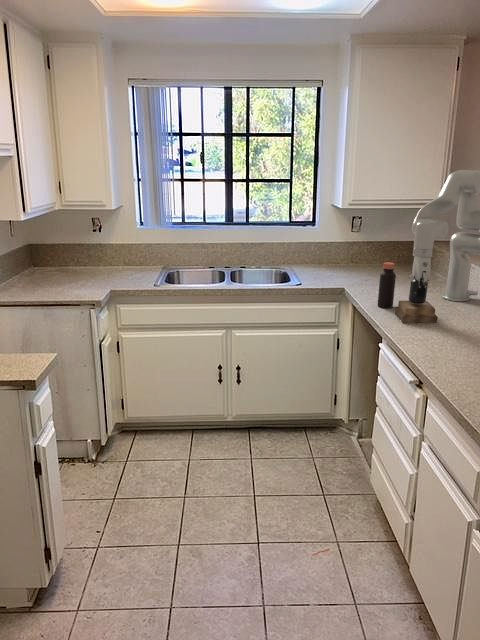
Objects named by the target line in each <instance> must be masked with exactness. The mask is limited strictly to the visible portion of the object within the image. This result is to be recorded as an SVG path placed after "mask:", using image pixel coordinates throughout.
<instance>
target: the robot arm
mask: <svg viewBox="0 0 480 640" xmlns="http://www.w3.org/2000/svg"><path fill="white" fill-rule="evenodd" d="M479 193H480V170H477V169H476V170H475V169H458V170H455V171H453V172H451V173H450V174H448V176H447V178H446V180H445V181H444V184H443V186H442V188H441V190H440V191H439V194H438V196H437V197H436V198H434V199H432V200H430V201H429V202H427V203H426V204H425V205H423V206H422V207H421V208H420V209H419V210H418V211H417V214H416V215H415V217H414V220H413V223H412V224H411V232H412V233H413V235H414V239H413V249H412V256H413V263H412V272H411V275H412V280H413V279H414V276H415V278H416V280H417V281H418V287H417V297H425V290H426V283H427V282H429V281H430V280H431V271H432V270H431V267H432V265H431V264H432V263H431V262H432V259H431V258H432V257H433V250H434V242H435V239H440V240H441V239H443V238H445V237H446V236H447V235H448V234H449V231H450V226H449V224H448V222H447V221H446V220H441V219H435V218H431V217H433V216H435V215H438V214H441V213H445V212H448V211H451V210H453V209H454V210H455V208H456V207H457V211H456V222H455V225H456V227H457V228H458V229H461V230H467V231H474V232H475V231H478V232H479V233H474V232H467V231H466V232H465V231H459V232H455V233H453V234H452V235H451V237H450V240H449V248H450V249H449V250H450V253H449V255H450V256H449V257H450V258H449V264H448V272H447V279H446V286H445V287H446V288H445V292H444V293H441V298H442V299H444V300H448V301H451V302H467V301H469V300H471V296H478V291H477V290H475V291H474V290H470V289H469V282H470V275H471V270H472V269H471V268H472V260H471V257H470V256H469V255H475V256H480V208H479V205H480V204H479V203H480V195H479ZM420 279H423V280H420ZM420 282H422V283H421V284H420Z"/></svg>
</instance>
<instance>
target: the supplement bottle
mask: <svg viewBox="0 0 480 640" xmlns="http://www.w3.org/2000/svg"><path fill="white" fill-rule="evenodd" d="M420 280H423V279H420ZM421 283H422V282H420V284H421ZM417 287H418V281H417V280H416V278H415V276H414V279H413V278H412V280H411V281H410V287H409V294H408V301H410V302H412V303H417V304H422V303H425V301H427V293H428V287H429V281H427V283H426V290H425V297H417Z"/></svg>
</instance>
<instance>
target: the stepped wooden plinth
mask: <svg viewBox="0 0 480 640" xmlns="http://www.w3.org/2000/svg"><path fill="white" fill-rule="evenodd" d="M397 303H398V304H397V305H398V306H394V314H395V315H397V316H396V317H397V318H398V319H399V321H400V320H401V321H400V322H401V324H418V323H437V324H438V315H436V308H435V307H434V306H433V305H432V304H431V303H430V302H428V300H426V301H425V303H422V304H417V303H412V302H410V301H409V300H398V302H397Z"/></svg>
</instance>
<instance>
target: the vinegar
mask: <svg viewBox="0 0 480 640" xmlns="http://www.w3.org/2000/svg"><path fill="white" fill-rule="evenodd" d="M395 265H396V264H395V263H394V262H389V261H387V262H383V264H382V271H381V273H380V275H379V281H378V282H379V285H378V293H377V294H378V295H377V307H379V308H381V309H392V308H394V296H395V288H396V279H397V278H396V277H397V275H396V273H395V272H394V270H395Z"/></svg>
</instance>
